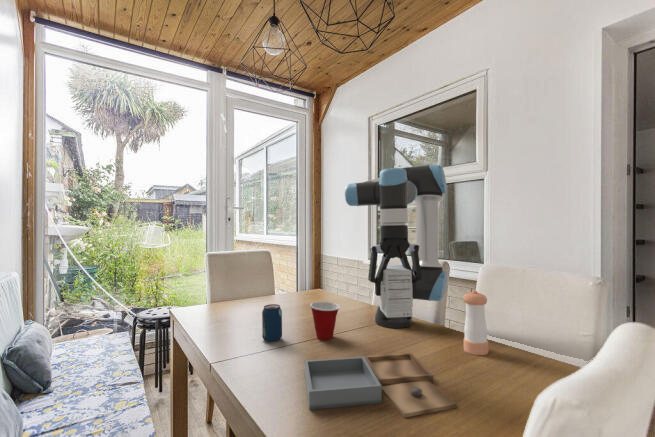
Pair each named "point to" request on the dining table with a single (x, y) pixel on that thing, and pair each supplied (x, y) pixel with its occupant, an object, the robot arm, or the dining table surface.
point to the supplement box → (397, 292)
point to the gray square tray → (341, 383)
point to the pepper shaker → (475, 324)
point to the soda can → (272, 323)
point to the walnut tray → (398, 368)
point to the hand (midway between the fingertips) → (395, 306)
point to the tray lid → (417, 398)
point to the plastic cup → (324, 319)
